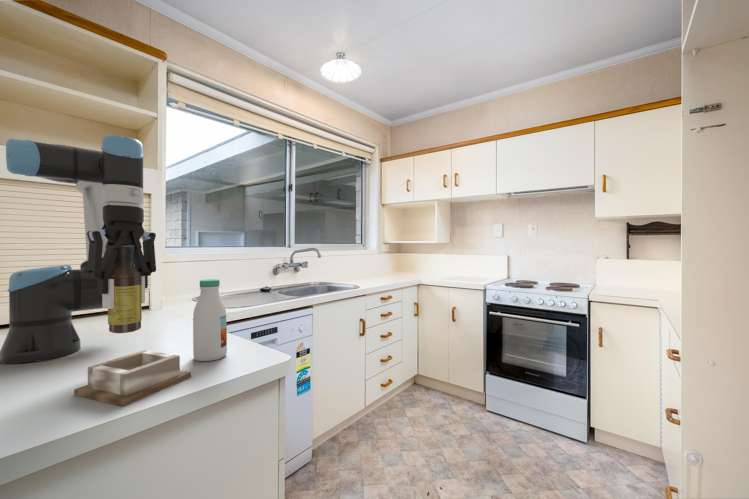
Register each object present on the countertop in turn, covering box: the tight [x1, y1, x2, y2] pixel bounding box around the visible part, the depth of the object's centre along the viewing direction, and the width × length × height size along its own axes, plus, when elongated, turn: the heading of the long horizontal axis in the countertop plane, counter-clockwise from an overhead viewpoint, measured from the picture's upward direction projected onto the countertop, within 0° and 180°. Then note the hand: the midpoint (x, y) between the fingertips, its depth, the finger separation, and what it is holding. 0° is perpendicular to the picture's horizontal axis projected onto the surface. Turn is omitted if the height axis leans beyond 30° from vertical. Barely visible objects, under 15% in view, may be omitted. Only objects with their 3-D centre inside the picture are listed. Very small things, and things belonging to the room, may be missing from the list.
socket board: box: [73, 349, 192, 407], centre depth 67 cm, size 14×14×5 cm
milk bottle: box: [192, 278, 228, 362], centre depth 84 cm, size 8×8×20 cm
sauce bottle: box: [107, 245, 143, 334], centre depth 76 cm, size 6×6×20 cm
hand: (124, 305), depth 76 cm, fingers closed on sauce bottle, 6 cm apart
